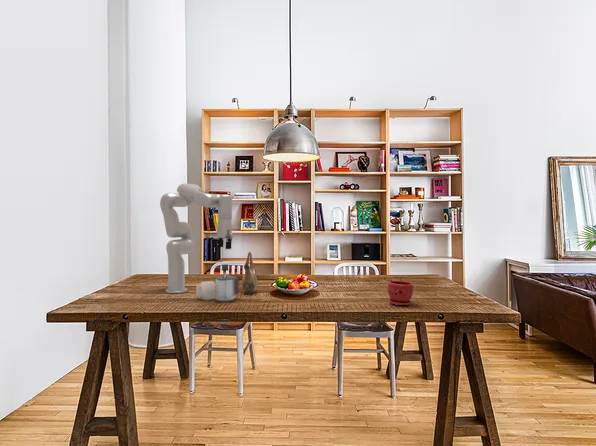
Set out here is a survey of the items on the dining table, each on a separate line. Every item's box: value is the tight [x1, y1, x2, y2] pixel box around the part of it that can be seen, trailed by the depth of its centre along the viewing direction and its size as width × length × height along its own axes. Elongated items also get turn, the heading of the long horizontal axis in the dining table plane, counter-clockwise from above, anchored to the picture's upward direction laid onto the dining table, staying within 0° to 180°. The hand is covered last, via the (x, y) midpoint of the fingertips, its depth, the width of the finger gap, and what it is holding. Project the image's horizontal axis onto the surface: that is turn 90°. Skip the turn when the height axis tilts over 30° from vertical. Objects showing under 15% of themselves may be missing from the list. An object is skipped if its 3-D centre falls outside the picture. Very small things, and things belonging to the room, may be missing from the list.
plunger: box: [221, 263, 229, 278], centre depth 222 cm, size 7×7×16 cm
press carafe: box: [212, 274, 239, 303], centre depth 223 cm, size 10×13×13 cm
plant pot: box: [387, 280, 414, 306], centre depth 215 cm, size 13×13×12 cm
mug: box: [195, 280, 215, 301], centre depth 226 cm, size 8×10×9 cm
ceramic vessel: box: [241, 251, 258, 295], centre depth 240 cm, size 16×9×25 cm, turn 172°
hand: (224, 248), depth 221 cm, fingers open, 9 cm apart
